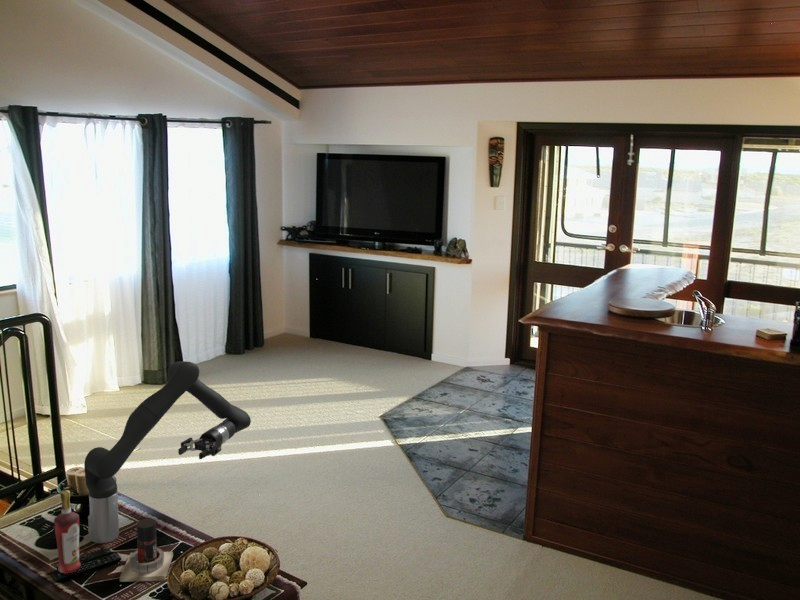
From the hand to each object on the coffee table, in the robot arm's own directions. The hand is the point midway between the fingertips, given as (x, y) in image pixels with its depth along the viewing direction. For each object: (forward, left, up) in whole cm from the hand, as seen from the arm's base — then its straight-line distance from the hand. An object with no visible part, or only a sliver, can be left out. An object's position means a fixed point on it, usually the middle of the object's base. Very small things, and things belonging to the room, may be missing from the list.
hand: (189, 454), depth 249 cm
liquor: (-35, -23, -30) cm, 52 cm away
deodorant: (-10, -23, -29) cm, 38 cm away
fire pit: (-10, -23, -30) cm, 39 cm away
